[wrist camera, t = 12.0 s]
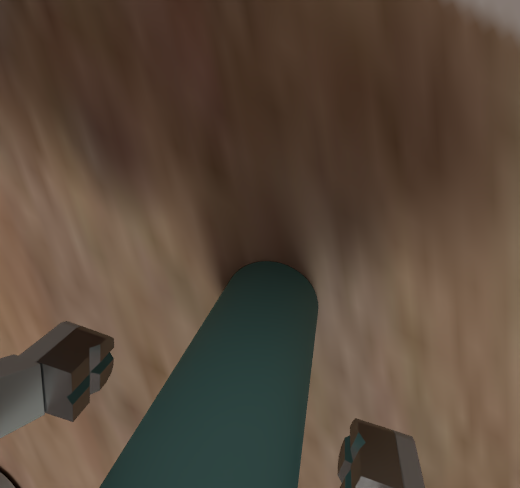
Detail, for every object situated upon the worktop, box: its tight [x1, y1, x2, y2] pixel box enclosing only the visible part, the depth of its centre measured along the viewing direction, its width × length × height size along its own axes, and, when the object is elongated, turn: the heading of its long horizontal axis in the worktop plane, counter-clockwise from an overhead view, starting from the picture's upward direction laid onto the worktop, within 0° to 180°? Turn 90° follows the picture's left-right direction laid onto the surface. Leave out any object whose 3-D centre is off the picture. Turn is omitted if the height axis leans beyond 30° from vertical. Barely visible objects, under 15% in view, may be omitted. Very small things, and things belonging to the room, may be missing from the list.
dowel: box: [100, 261, 318, 488], centre depth 9 cm, size 4×4×12 cm
